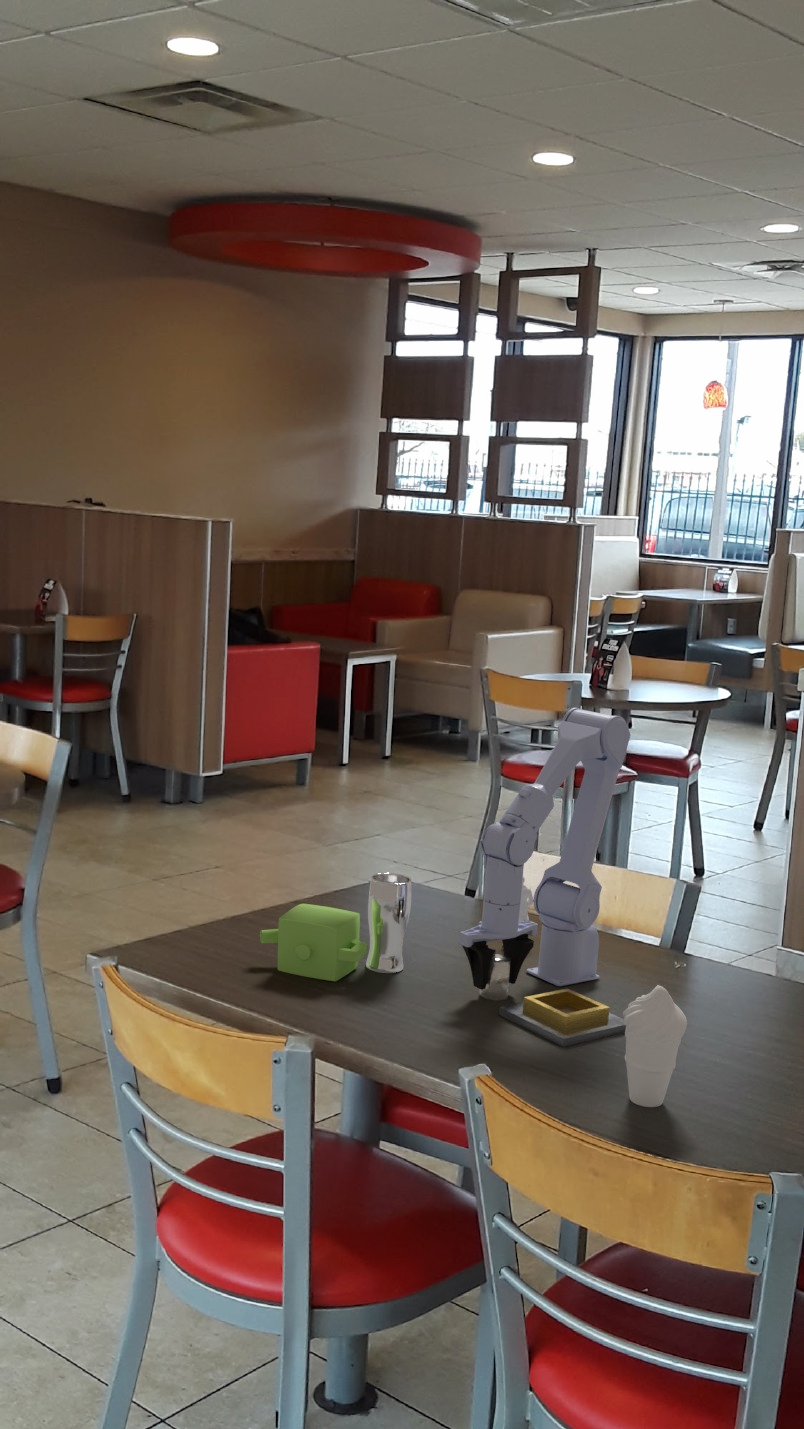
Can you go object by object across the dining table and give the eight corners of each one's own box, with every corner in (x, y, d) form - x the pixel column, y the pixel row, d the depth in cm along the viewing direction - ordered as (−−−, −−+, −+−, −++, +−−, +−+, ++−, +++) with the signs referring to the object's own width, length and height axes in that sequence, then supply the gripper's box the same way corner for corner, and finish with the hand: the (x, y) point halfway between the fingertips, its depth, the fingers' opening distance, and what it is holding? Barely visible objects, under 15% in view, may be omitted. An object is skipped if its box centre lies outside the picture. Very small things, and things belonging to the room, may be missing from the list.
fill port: (566, 1000, 223) (568, 981, 222) (631, 1030, 212) (633, 1010, 211) (498, 1014, 214) (500, 994, 214) (562, 1046, 203) (564, 1025, 203)
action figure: (518, 937, 254) (524, 872, 252) (533, 943, 251) (539, 877, 249) (493, 943, 249) (499, 876, 248) (508, 948, 247) (514, 881, 245)
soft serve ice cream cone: (607, 1086, 190) (619, 971, 188) (668, 1088, 191) (681, 974, 189) (622, 1113, 182) (635, 993, 180) (686, 1115, 183) (699, 996, 180)
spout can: (495, 988, 226) (499, 942, 225) (513, 997, 222) (517, 950, 221) (473, 992, 223) (477, 946, 222) (492, 1001, 220) (496, 954, 218)
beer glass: (401, 976, 228) (408, 886, 226) (358, 971, 229) (365, 880, 227) (409, 963, 235) (416, 875, 232) (368, 958, 236) (375, 870, 234)
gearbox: (246, 971, 227) (247, 914, 225) (275, 952, 236) (276, 897, 234) (348, 991, 220) (350, 932, 218) (374, 970, 229) (376, 914, 227)
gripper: (519, 888, 228) (512, 970, 230) (449, 898, 219) (442, 983, 221) (549, 900, 222) (542, 983, 224) (478, 910, 214) (471, 997, 216)
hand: (494, 984), depth 222 cm, fingers open, 6 cm apart
